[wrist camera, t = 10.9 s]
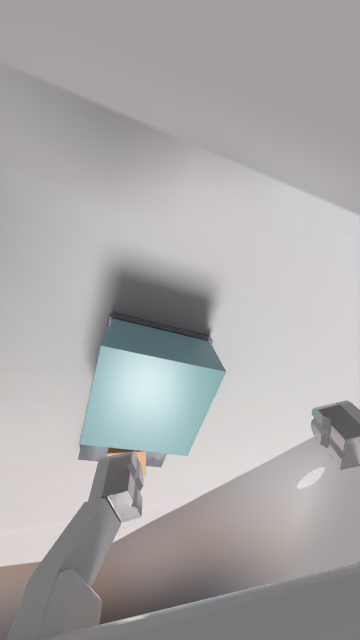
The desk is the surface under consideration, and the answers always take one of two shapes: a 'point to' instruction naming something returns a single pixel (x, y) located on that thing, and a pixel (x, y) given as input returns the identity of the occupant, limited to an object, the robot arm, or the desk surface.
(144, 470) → the hollow square tube
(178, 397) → the cover
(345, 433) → the robot arm
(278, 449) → the desk surface
